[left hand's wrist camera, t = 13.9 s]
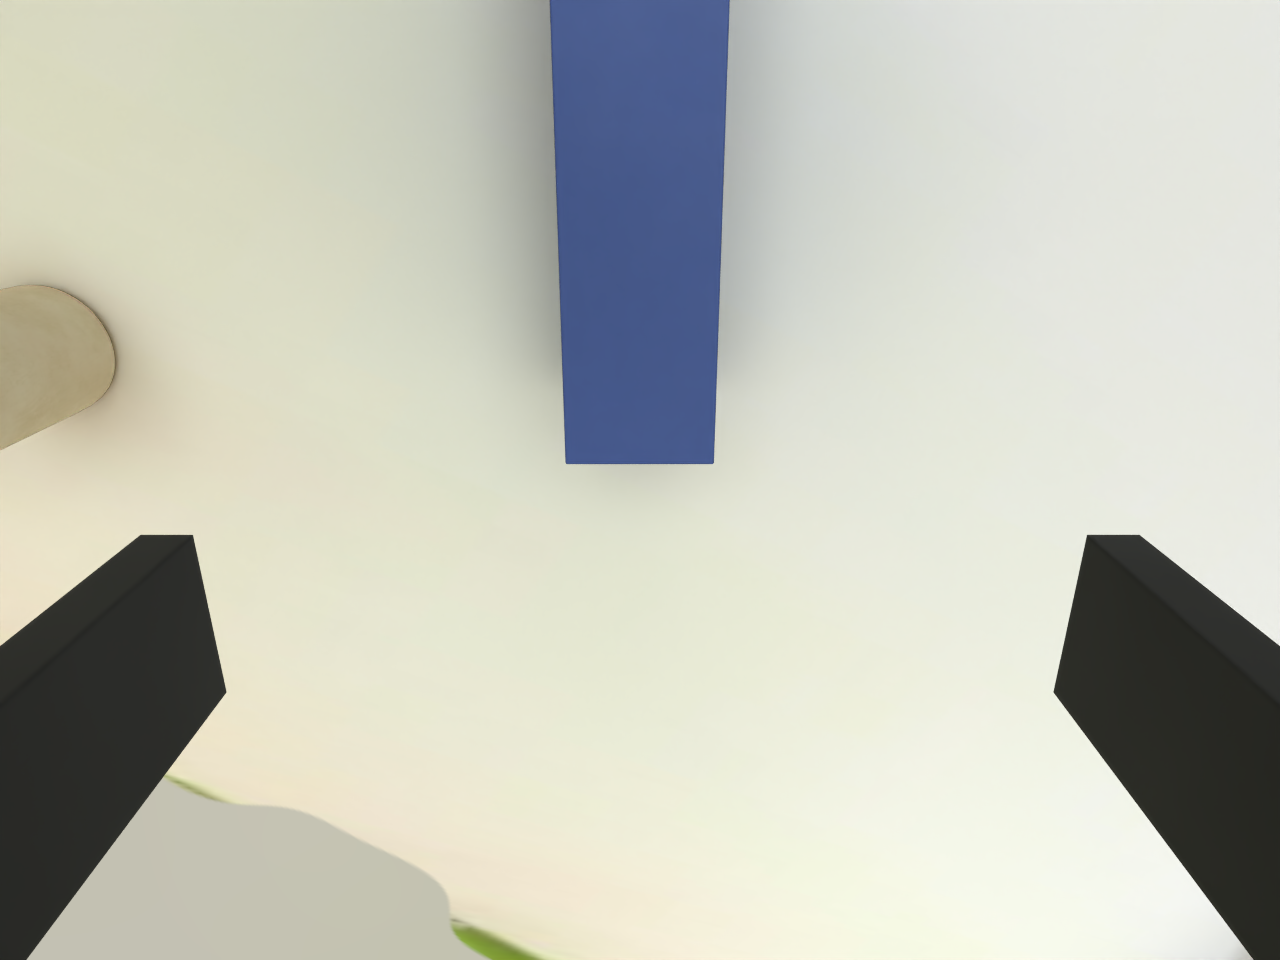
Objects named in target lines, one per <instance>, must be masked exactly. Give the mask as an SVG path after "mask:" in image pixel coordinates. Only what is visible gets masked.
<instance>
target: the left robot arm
mask: <svg viewBox="0 0 1280 960" xmlns="http://www.w3.org/2000/svg"><path fill="white" fill-rule="evenodd" d="M225 694H226V688H225V683H224V678H223V674H222V669H221V664H220V660H219V655H218V650H217V646H216V641H215V636H214V632H213V627H212V622H211V618H210V613H209V608H208V604H207V599H206V594H205V590H204V585H203V580H202V576H201V571H200V566H199V562H198V557H197V552H196V548H195V543H194V538H193V535H140V536H139V537H137V538H136V539H135V540H134V541H132V542H131V543H130V544H129V545H127V546H126V547H125V548H124V549H122V550H121V551H120V552H119V553H117V554H116V555H115V556H113V557H112V558H111V559H110V560H108V561H107V562H106V563H105V564H103V565H102V566H101V567H100V568H98V569H97V570H96V571H95V572H93V573H92V574H91V575H89V576H88V577H87V578H86V579H84V580H83V581H82V582H81V583H79V584H78V585H77V586H76V587H74V588H73V589H72V590H71V591H69V592H68V593H67V594H65V595H64V596H63V597H62V598H60V599H59V600H58V601H57V602H55V603H54V604H53V605H52V606H50V607H49V608H48V609H47V610H45V611H44V612H43V613H41V614H40V615H39V616H38V617H36V618H35V619H34V620H33V621H31V622H30V623H29V624H28V625H26V626H25V627H24V628H23V629H21V630H20V631H19V632H18V633H16V634H15V635H14V636H12V637H11V638H10V639H9V640H7V641H6V642H5V643H4V644H2V645H1V646H0V960H27V958H28V957H29V955H30V954H31V953H32V952H33V950H34V949H35V947H36V946H37V945H38V943H39V942H40V941H41V939H42V938H43V937H44V935H45V934H46V933H47V931H48V930H49V929H50V927H51V926H52V925H53V923H54V922H55V921H56V919H57V918H58V917H59V915H60V914H61V913H62V911H63V910H64V909H65V907H66V906H67V905H68V903H69V902H70V901H71V899H72V898H73V897H74V895H75V894H76V893H77V891H78V890H79V889H80V887H81V886H82V885H83V883H84V882H85V881H86V879H87V878H88V877H89V875H90V874H91V873H92V871H93V870H94V869H95V867H96V866H97V865H98V863H99V862H100V861H101V859H102V858H103V857H104V855H105V854H106V853H107V851H108V850H109V849H110V847H111V846H112V845H113V843H114V842H115V841H116V839H117V838H118V836H119V835H120V834H121V833H122V831H123V830H124V829H125V827H126V826H127V825H128V823H129V822H130V820H131V819H132V818H133V817H134V815H135V814H136V812H137V811H138V810H139V808H140V807H141V806H142V804H143V803H144V802H145V800H146V799H147V798H148V796H149V795H150V794H151V792H152V791H153V790H154V788H155V787H156V786H157V784H158V783H159V782H160V780H161V779H162V778H163V776H164V775H165V774H166V772H167V771H168V770H169V768H170V767H171V766H172V764H173V763H174V762H175V760H176V759H177V758H178V756H179V755H180V754H181V752H182V751H183V750H184V748H185V747H186V746H187V744H188V743H189V742H190V740H191V739H192V738H193V736H194V735H195V734H196V732H197V731H198V730H199V728H200V727H201V726H202V724H203V723H204V722H205V720H206V719H207V718H208V716H209V715H210V714H211V712H212V711H213V710H214V708H215V707H216V706H217V704H218V703H219V702H220V700H221V699H222V698H223V696H224V695H225ZM1054 694H1055V695H1056V696H1057V698H1058V699H1059V700H1060V702H1061V703H1062V704H1063V706H1064V707H1065V708H1066V710H1067V711H1068V712H1069V714H1070V715H1071V716H1072V718H1073V719H1074V720H1075V722H1076V723H1077V724H1078V726H1079V727H1080V728H1081V730H1082V731H1083V732H1084V734H1085V735H1086V736H1087V738H1088V739H1089V740H1090V742H1091V743H1092V744H1093V746H1094V747H1095V748H1096V750H1097V751H1098V752H1099V754H1100V755H1101V756H1102V758H1103V759H1104V760H1105V762H1106V763H1107V764H1108V766H1109V767H1110V768H1111V770H1112V771H1113V772H1114V774H1115V775H1116V776H1117V778H1118V779H1119V780H1120V782H1121V783H1122V784H1123V786H1124V787H1125V788H1126V790H1127V791H1128V792H1129V794H1130V795H1131V796H1132V798H1133V799H1134V800H1135V802H1136V803H1137V804H1138V806H1139V807H1140V808H1141V810H1142V811H1143V812H1144V814H1145V815H1146V817H1147V818H1148V819H1149V821H1150V822H1151V823H1152V825H1153V826H1154V827H1155V829H1156V830H1157V831H1158V833H1159V834H1160V835H1161V837H1162V838H1163V839H1164V841H1165V842H1166V843H1167V845H1168V846H1169V847H1170V849H1171V850H1172V851H1173V853H1174V854H1175V855H1176V857H1177V858H1178V859H1179V861H1180V862H1181V863H1182V865H1183V866H1184V867H1185V869H1186V870H1187V871H1188V873H1189V874H1190V875H1191V877H1192V878H1193V879H1194V881H1195V882H1196V883H1197V885H1198V886H1199V887H1200V889H1201V890H1202V891H1203V893H1204V894H1205V895H1206V897H1207V898H1208V899H1209V901H1210V902H1211V903H1212V905H1213V906H1214V907H1215V909H1216V910H1217V911H1218V913H1219V914H1220V915H1221V917H1222V918H1223V919H1224V921H1225V922H1226V923H1227V925H1228V926H1229V927H1230V929H1231V930H1232V931H1233V933H1234V934H1235V935H1236V937H1237V938H1238V939H1239V941H1240V942H1241V943H1242V945H1243V946H1244V947H1245V949H1246V950H1247V952H1248V953H1249V954H1250V956H1251V957H1252V958H1253V960H1280V646H1279V645H1278V644H1276V643H1275V642H1274V641H1273V640H1271V639H1270V638H1269V637H1268V636H1266V635H1265V634H1264V633H1262V632H1261V631H1260V630H1259V629H1257V628H1256V627H1255V626H1254V625H1252V624H1251V623H1250V622H1249V621H1247V620H1246V619H1245V618H1244V617H1242V616H1241V615H1240V614H1239V613H1237V612H1236V611H1235V610H1233V609H1232V608H1231V607H1230V606H1228V605H1227V604H1226V603H1225V602H1223V601H1222V600H1221V599H1220V598H1218V597H1217V596H1216V595H1215V594H1213V593H1212V592H1211V591H1209V590H1208V589H1207V588H1206V587H1204V586H1203V585H1202V584H1201V583H1199V582H1198V581H1197V580H1196V579H1194V578H1193V577H1192V576H1191V575H1189V574H1188V573H1187V572H1185V571H1184V570H1183V569H1182V568H1180V567H1179V566H1178V565H1177V564H1175V563H1174V562H1173V561H1172V560H1170V559H1169V558H1168V557H1167V556H1165V555H1164V554H1163V553H1161V552H1160V551H1159V550H1158V549H1156V548H1155V547H1154V546H1153V545H1151V544H1150V543H1149V542H1148V541H1146V540H1145V539H1144V538H1143V537H1141V536H1140V535H1087V538H1086V543H1085V548H1084V552H1083V557H1082V562H1081V566H1080V571H1079V576H1078V580H1077V585H1076V590H1075V594H1074V599H1073V604H1072V608H1071V613H1070V618H1069V622H1068V627H1067V632H1066V636H1065V641H1064V646H1063V650H1062V655H1061V660H1060V664H1059V669H1058V674H1057V678H1056V683H1055V688H1054Z"/></svg>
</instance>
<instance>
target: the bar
mask: <svg viewBox="0 0 1280 960" xmlns="http://www.w3.org/2000/svg"><path fill="white" fill-rule="evenodd" d="M729 2H730V0H550V21H551V50H552V80H553V109H554V138H555V167H556V196H557V225H558V254H559V283H560V313H561V342H562V371H563V400H564V429H565V458H566V464H713V463H714V442H715V413H716V384H717V354H718V325H719V295H720V266H721V237H722V207H723V178H724V148H725V119H726V90H727V60H728V31H729Z"/></svg>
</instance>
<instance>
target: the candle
mask: <svg viewBox="0 0 1280 960" xmlns="http://www.w3.org/2000/svg"><path fill="white" fill-rule="evenodd" d="M114 370H115V356H114V350H113V346H112V343H111V340H110V338H109V335H108V333H107V331H106V330H105V328H104V326H103V325H102V323H101V322H100V321H99V319H98V318H97V317H96V316H95V314H94V313H93V312H92V311H91V310H90V309H89V308H88V307H86V306H85V305H84V304H83V303H81V302H80V301H79V300H77V299H76V298H74V297H72V296H71V295H69V294H67V293H65V292H63V291H60V290H57V289H54V288H51V287H46V286H38V285H22V286H16V287H11V288H6V289H1V290H0V450H2V449H4V448H6V447H8V446H10V445H12V444H14V443H16V442H18V441H20V440H22V439H24V438H27V437H29V436H31V435H33V434H35V433H37V432H39V431H41V430H43V429H45V428H47V427H49V426H51V425H53V424H55V423H57V422H59V421H62V420H64V419H66V418H68V417H70V416H72V415H74V414H76V413H78V412H80V411H81V410H83V409H85V408H87V407H89V406H91V405H92V404H94V403H95V402H96V401H97V400H99V399H100V398H101V397H102V396H103V395H104V393H105V392H106V391H107V389H108V388H109V386H110V384H111V382H112V379H113V375H114Z"/></svg>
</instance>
